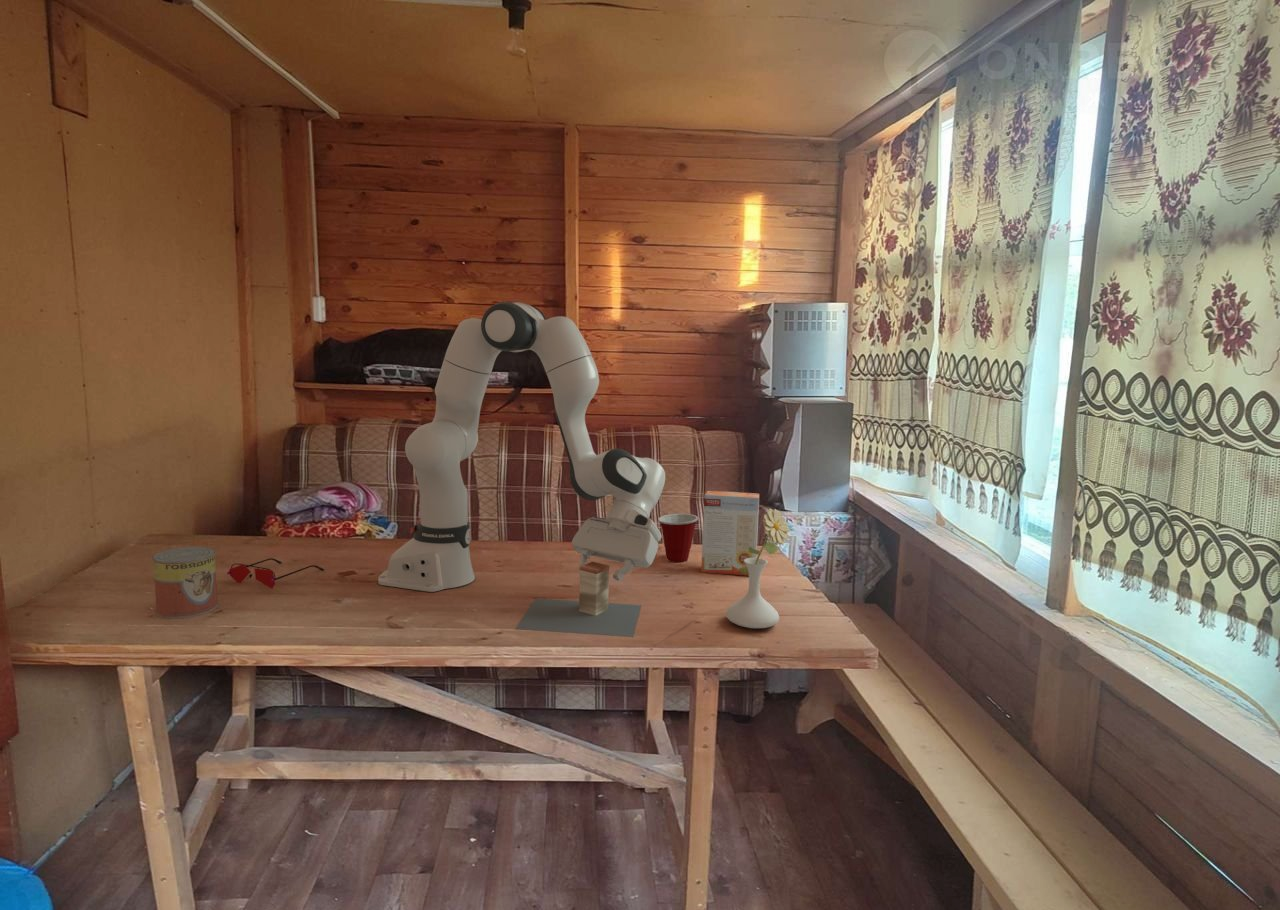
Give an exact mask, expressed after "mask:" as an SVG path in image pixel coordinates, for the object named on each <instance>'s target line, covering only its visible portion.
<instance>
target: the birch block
mask: <svg viewBox="0 0 1280 910" xmlns="http://www.w3.org/2000/svg"><path fill="white" fill-rule="evenodd" d="M609 582H610V565H608V564H604V563H600V562H596V561H591V562H587V564H585V565H582V566H580V570H579V591H578V592H579V595H578V601H579V611H581V612H585V613H588V614H592V615H595V616H596V615H598V614H600V613H602V612H604V611H606V610H608V603H609V594H610V593H609V591H610V588H609V587H610V585H609V584H610V583H609Z"/></svg>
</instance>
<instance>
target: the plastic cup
mask: <svg viewBox="0 0 1280 910" xmlns="http://www.w3.org/2000/svg"><path fill="white" fill-rule="evenodd" d="M657 519H658V522H659V523H660V527H661V531H662V538H663V544H664V549H665V558H666V560H667V559H668V560H670V561H669V562H671V561H674V562H673V563H685V562H684V561H686V562H687V561H688V559H689V557H690V556H689V555H690V551H691V547H692V543H693V537H694V531H695V529H696V525H697V521H698V520H699V517H698V516H697V515H695V514H691V513H671V514H665V515H662V516H660V517H658V518H657ZM668 560H667V561H668Z"/></svg>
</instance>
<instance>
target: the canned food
mask: <svg viewBox="0 0 1280 910" xmlns="http://www.w3.org/2000/svg"><path fill="white" fill-rule="evenodd" d="M215 553H216V550H215V549H214V548H212V547H208V546H198V545H197V546H196V545H195V546H185V547H184V546H183V547H176V548H170V549H166V550H163V551H159V552H156V553H155V554H154V555H153V556H152V557H151V558H152V564H153V577H154V578H153V579H154V581H153V582H154V590H155V591H154V592H155V593H154V594H155V606H156V612H155V613H156V615H157V616H158V617H161V618H162V619H163V618H164V619H185V618H193V617H197V616H201V615H205V614H208V613H210V612H212V611H215V609H217V608H218V607H219V602H218V601H219V600H218V588H217V572H216V570H217V569H216V568H217V567H216V554H215Z"/></svg>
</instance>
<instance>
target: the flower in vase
mask: <svg viewBox="0 0 1280 910" xmlns="http://www.w3.org/2000/svg"><path fill="white" fill-rule="evenodd" d="M781 515H782V514H781V513H780V511H779V510H777V509H776V508H774V509H772V508H769V509H768V510H766V513H764V515H763V518H762V521H763V525H762V526H763V527H764V530H763V531H764V533H765V538H764V541H763V545H762V547H761V548H760V550H758V549H757V550H755V549H753V548H751V547H749V552H751V553H754V554H757V556H756V558H747V559H744V562H745V564H746V566H747V568H748V572H749V576H748V590H747V593H746V595H744V596H743V597H741V598H740V599H738V600H736V601H735V602H734V603H732V604H731V605H730V606H729V607H728V608H727V610H726V612H725V616H726V617H727V619H728V621H730V622H731V624H732V623H733V624H735V625H736V626H739V627H744V628H748V629H765V628H770V627H773V626H775V625H776V624H777V623H778V622H779V621H780V615H779V613H778V611H777V610H776V609H775V607H774V606H772V605H771V604H770V603H769V602H768V601H767V600H765V599H764V598H763V596H762V595H761V590H760V584H761V578H762V577H761V576H762V573H763V571H764V569H765V567H767V566H766V565H767V564H768V563H769V562H768V560H766V559H763V558H760V557H761V554H762V552H763V550H765V551H766V552H767V553H768V554H771V555H772V554H775V553H776V552H777V551H779V547H778V545H779V546H781V545H782V546H783V545H784V544H785V542H787V541H788V540H789V539H788V538H790V534H789V533H790V531H791V530H790V527H788V526H789V525H788V523H787V522H786V517H785V516H781ZM768 539H769V540H770V541H767V540H768Z"/></svg>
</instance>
